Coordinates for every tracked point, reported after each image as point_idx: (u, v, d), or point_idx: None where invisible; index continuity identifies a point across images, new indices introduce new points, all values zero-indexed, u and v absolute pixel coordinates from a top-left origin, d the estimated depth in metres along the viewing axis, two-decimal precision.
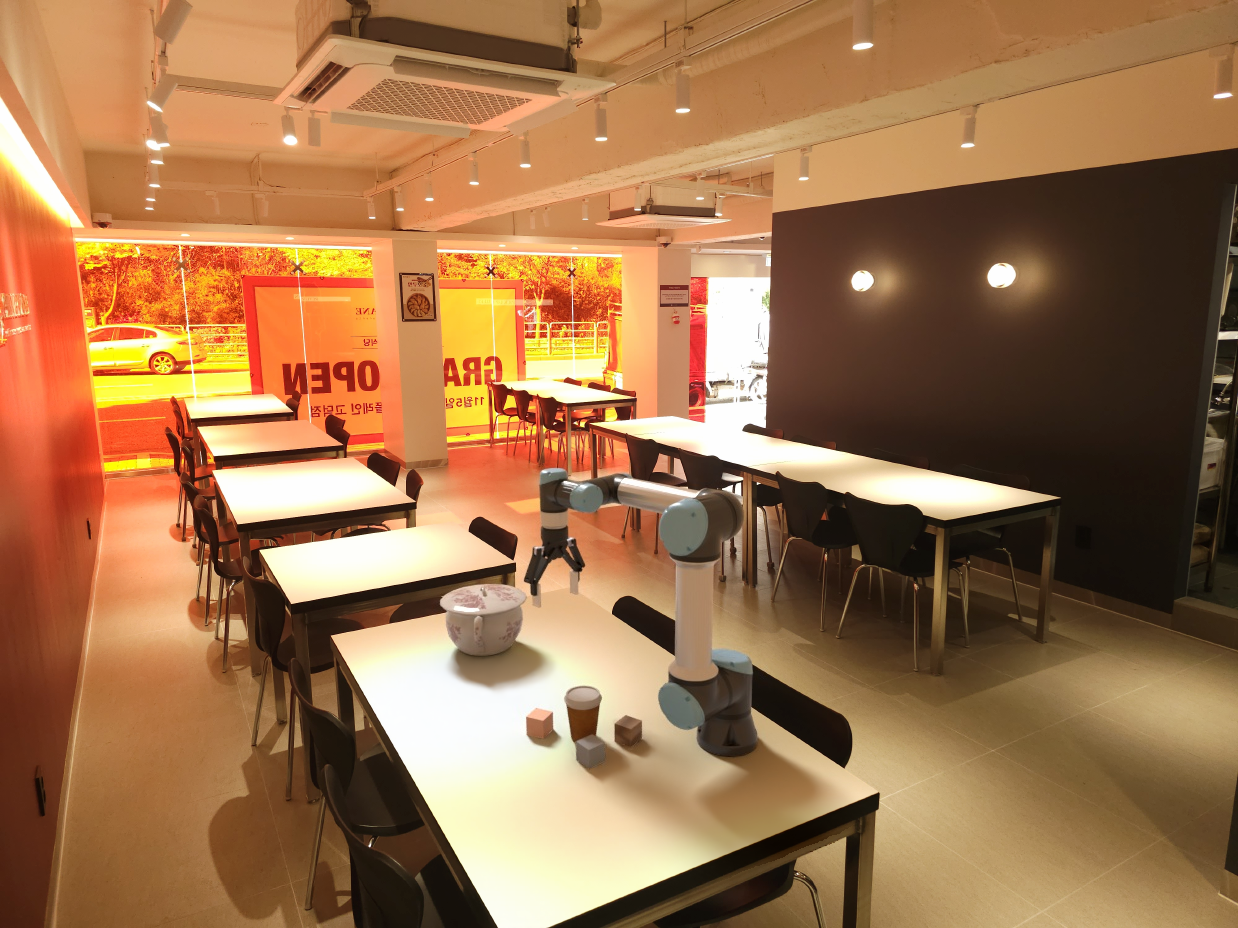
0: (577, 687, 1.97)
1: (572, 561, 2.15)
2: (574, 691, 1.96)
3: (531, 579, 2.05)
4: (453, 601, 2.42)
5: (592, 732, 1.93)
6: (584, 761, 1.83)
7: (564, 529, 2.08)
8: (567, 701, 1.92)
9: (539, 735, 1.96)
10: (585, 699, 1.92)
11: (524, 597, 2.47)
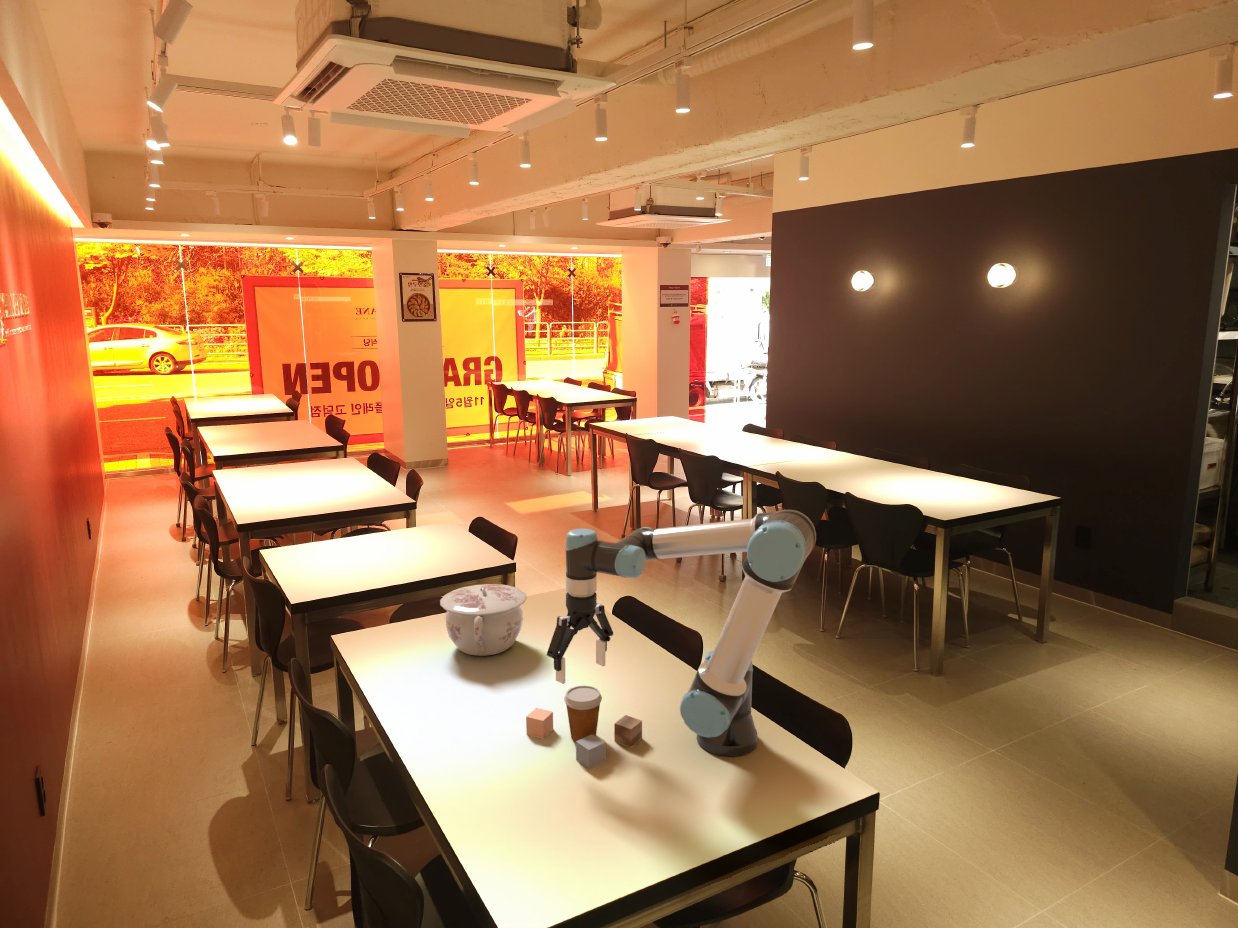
0: (577, 687, 1.97)
1: (599, 630, 1.94)
2: (574, 691, 1.96)
3: (555, 653, 1.84)
4: (453, 601, 2.42)
5: (592, 732, 1.93)
6: (584, 761, 1.83)
7: (592, 597, 1.87)
8: (567, 701, 1.92)
9: (539, 735, 1.96)
10: (585, 699, 1.92)
11: (524, 597, 2.47)
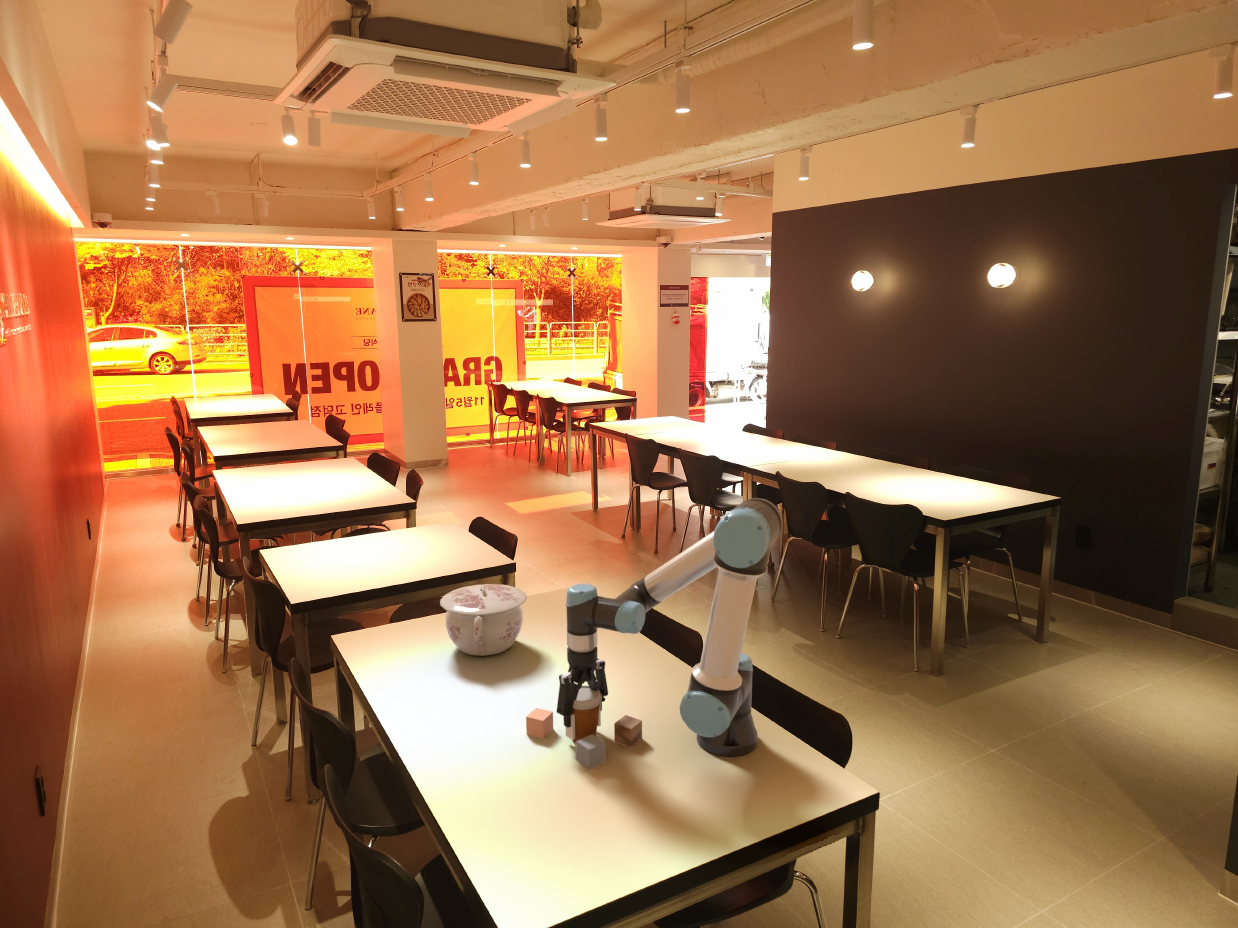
0: None
1: (596, 688, 1.96)
2: None
3: (564, 711, 1.88)
4: (453, 601, 2.42)
5: (592, 732, 1.93)
6: (584, 761, 1.83)
7: (593, 652, 1.90)
8: None
9: (539, 735, 1.96)
10: (585, 699, 1.92)
11: (524, 597, 2.47)
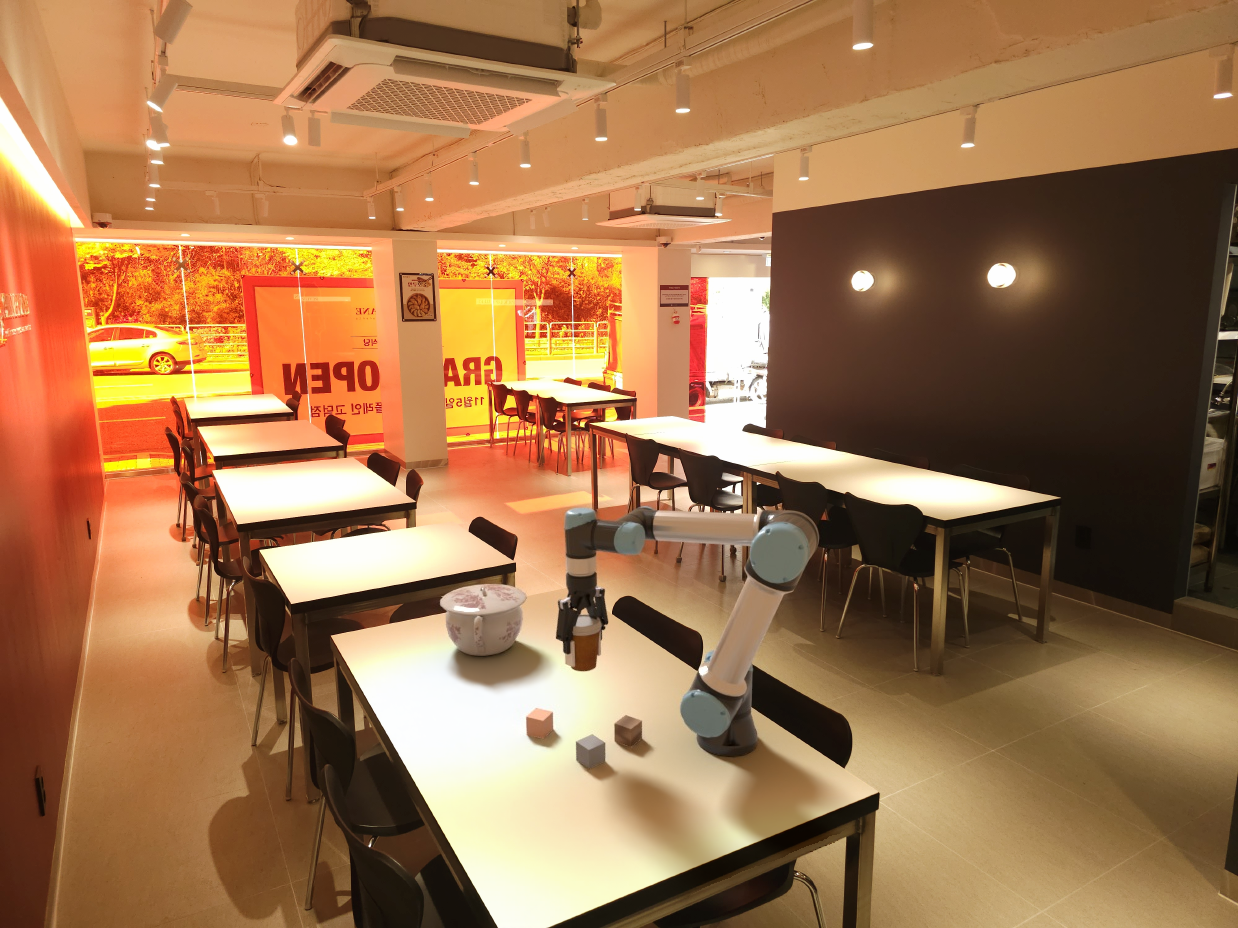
0: None
1: (596, 616, 1.92)
2: None
3: (564, 636, 1.85)
4: (453, 601, 2.42)
5: (592, 660, 1.90)
6: (584, 761, 1.83)
7: (592, 576, 1.86)
8: None
9: (539, 735, 1.96)
10: (585, 625, 1.88)
11: (524, 597, 2.47)
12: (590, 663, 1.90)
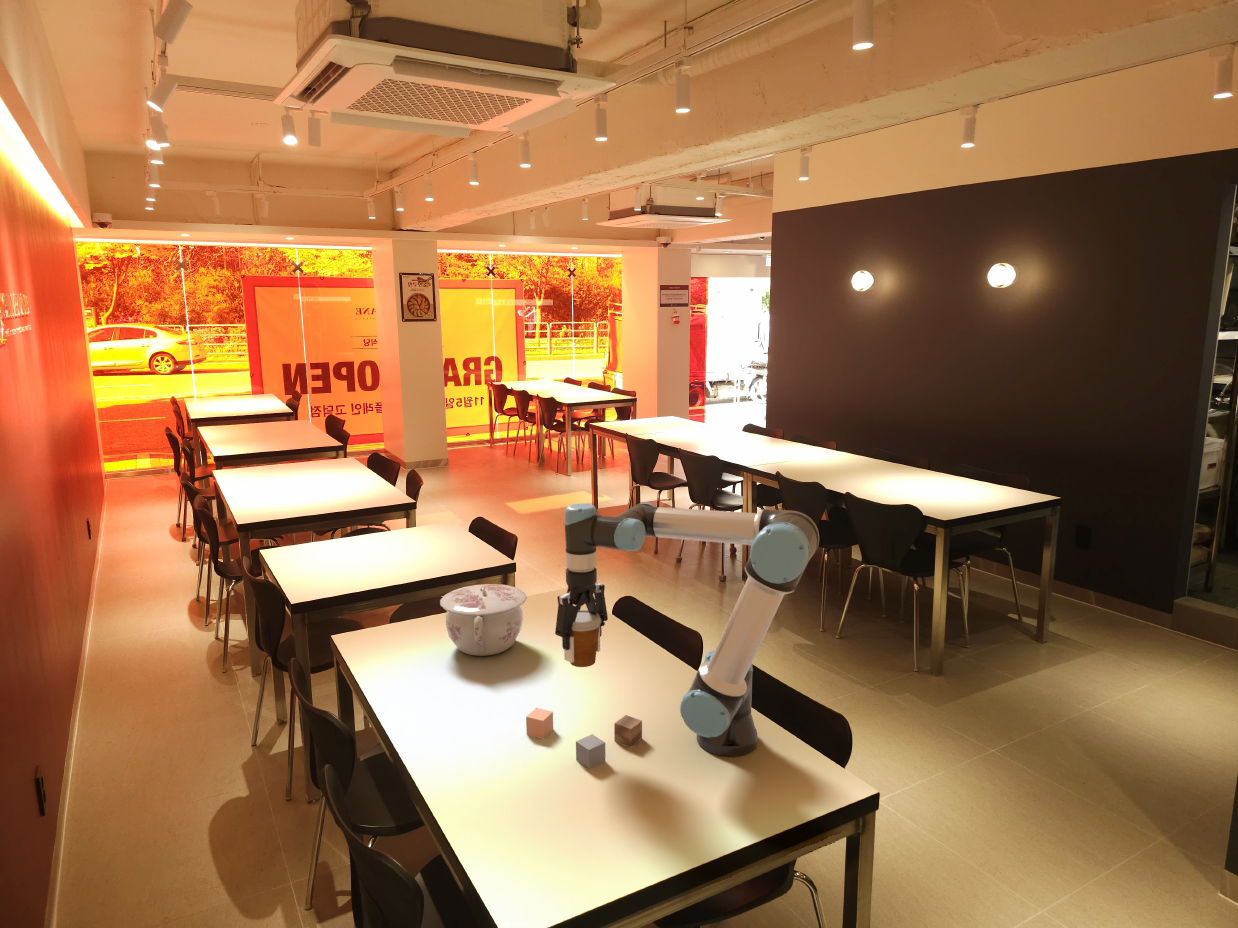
0: None
1: (595, 612, 1.92)
2: None
3: (563, 632, 1.85)
4: (453, 601, 2.42)
5: (591, 655, 1.90)
6: (584, 761, 1.83)
7: (592, 572, 1.86)
8: None
9: (539, 735, 1.96)
10: (584, 621, 1.88)
11: (524, 597, 2.47)
12: (590, 659, 1.89)
